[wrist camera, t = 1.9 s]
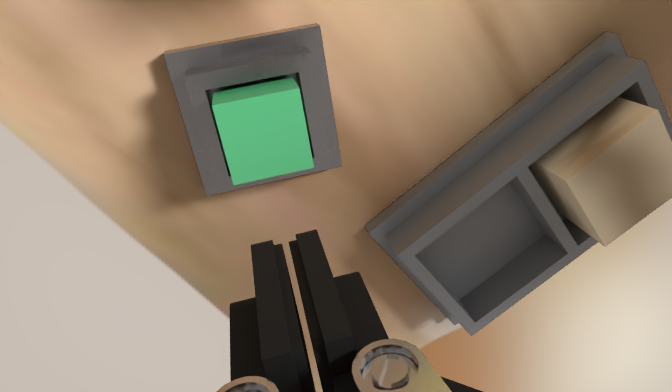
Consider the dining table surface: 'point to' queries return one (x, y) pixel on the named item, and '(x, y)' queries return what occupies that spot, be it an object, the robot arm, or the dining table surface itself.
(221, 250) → the dining table surface
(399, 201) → the divided grey tray
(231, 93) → the button
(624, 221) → the block
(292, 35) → the button housing
